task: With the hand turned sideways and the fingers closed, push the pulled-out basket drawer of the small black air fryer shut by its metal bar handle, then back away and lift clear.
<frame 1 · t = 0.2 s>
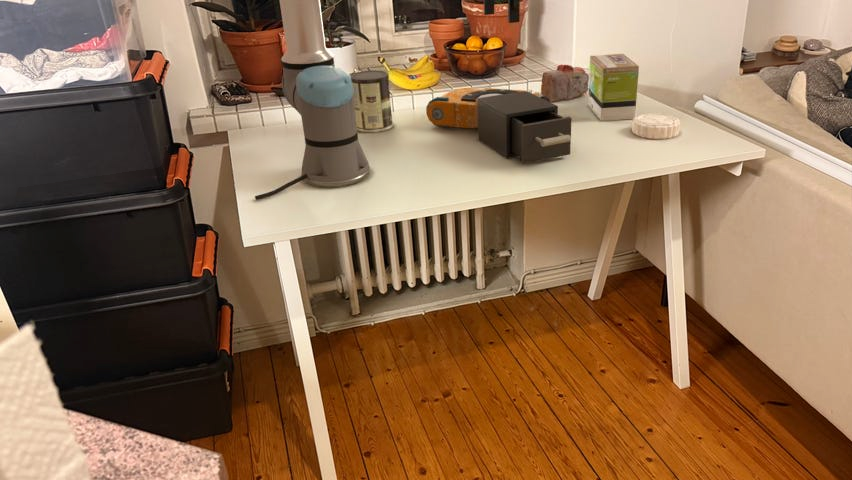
hand: (501, 18, 174), 28 cm above the table, tool pointing down, fingers open, 13 cm apart
coffee can: (374, 127, 191), on the table
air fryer: (516, 144, 176), on the table
mooncake: (655, 132, 182), on the table
tea box: (610, 113, 198), on the table
device: (490, 121, 193), on the table
food item: (564, 98, 212), on the table
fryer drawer: (536, 134, 165), point 5 cm above the table, slide at 6.0 cm
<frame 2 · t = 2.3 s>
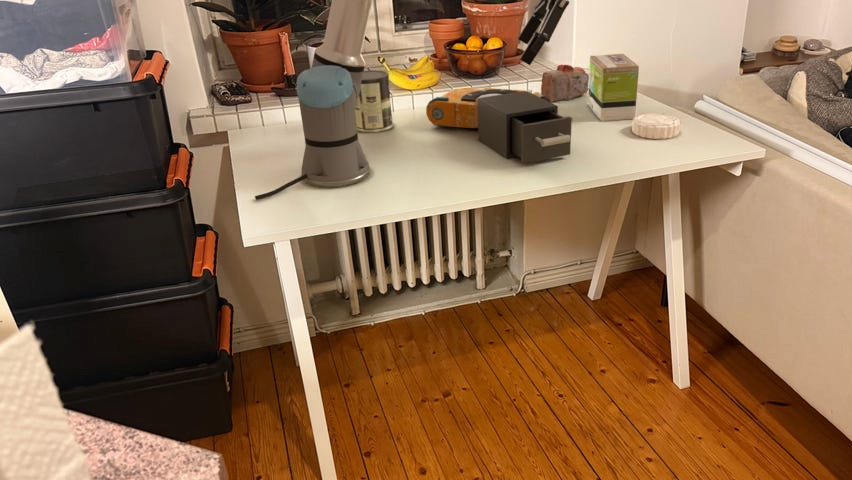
hand: (523, 51, 168), 22 cm above the table, tool tilted 35°, fingers open, 13 cm apart
nothing on the table moved.
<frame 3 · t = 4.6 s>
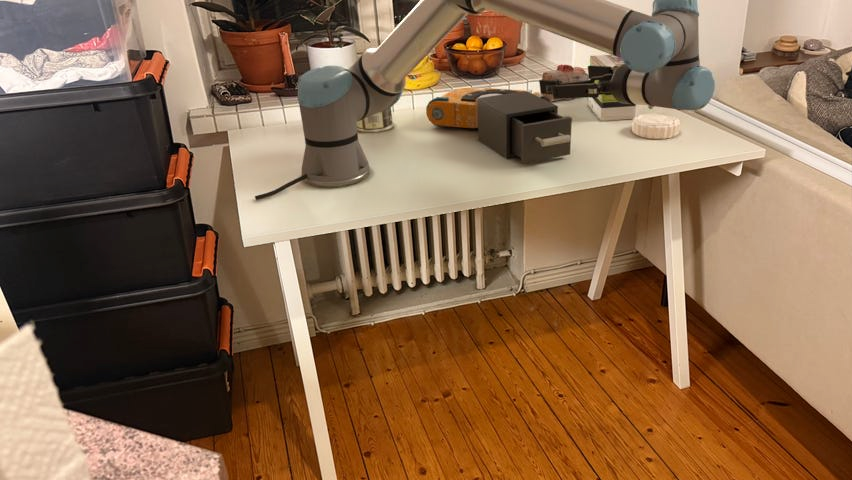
hand: (565, 79, 150), 20 cm above the table, tool horizontal, fingers open, 13 cm apart
nothing on the table moved.
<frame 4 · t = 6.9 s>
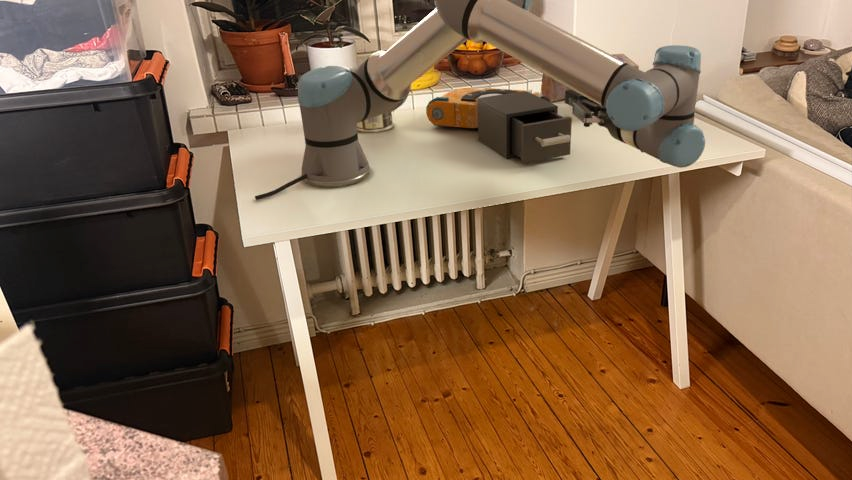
hand: (568, 96, 149), 18 cm above the table, tool horizontal, fingers closed
nothing on the table moved.
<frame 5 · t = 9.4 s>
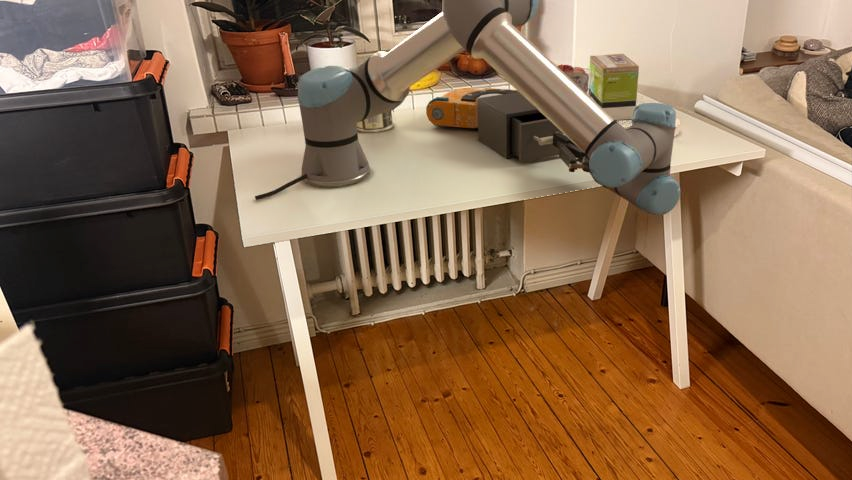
hand: (555, 138, 157), 7 cm above the table, tool horizontal, fingers closed
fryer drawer: (534, 133, 166), point 5 cm above the table, slide at 5.0 cm, touching gripper
everything else where it was.
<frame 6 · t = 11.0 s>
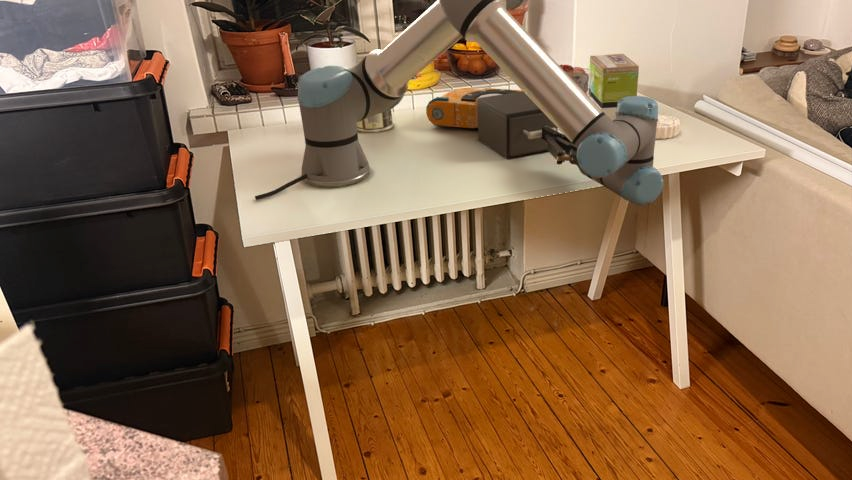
hand: (544, 132, 161), 7 cm above the table, tool horizontal, fingers closed
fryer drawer: (524, 127, 170), point 5 cm above the table, slide at 0.0 cm, touching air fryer, gripper
everything else where it was.
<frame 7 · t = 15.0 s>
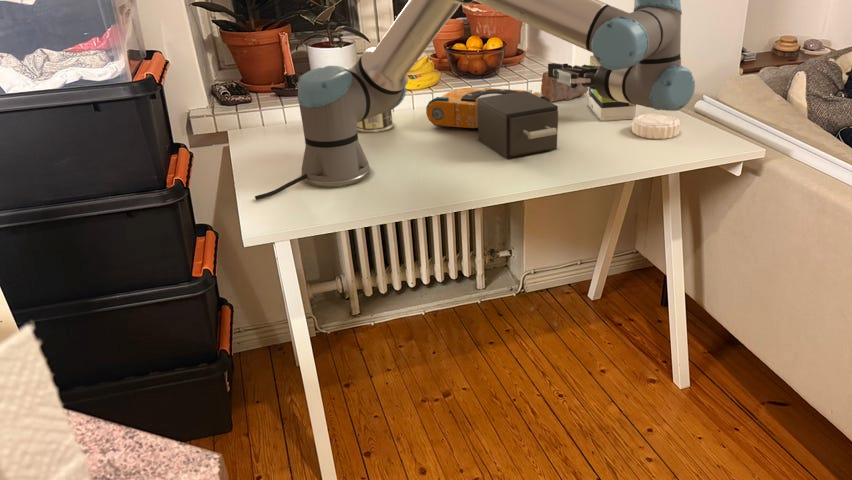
hand: (551, 69, 150), 22 cm above the table, tool horizontal, fingers closed
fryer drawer: (524, 127, 170), point 5 cm above the table, slide at 0.0 cm, touching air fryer
everything else where it was.
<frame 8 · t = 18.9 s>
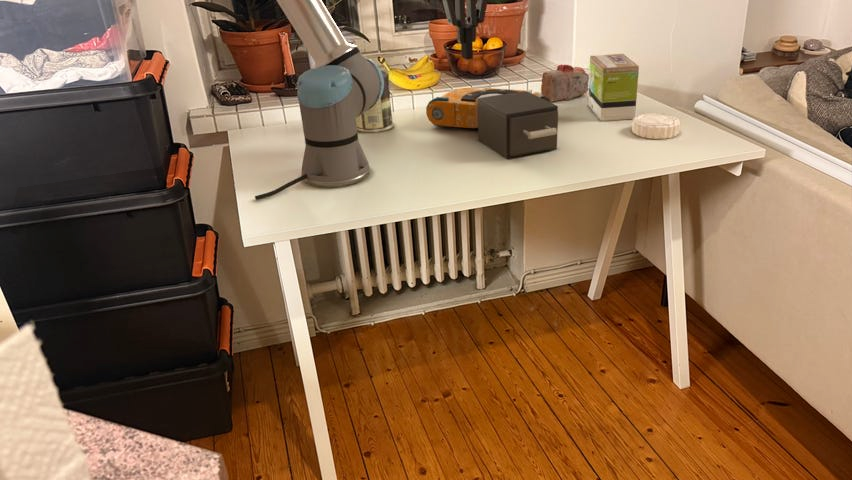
hand: (467, 57, 152), 24 cm above the table, tool pointing down, fingers closed
nothing on the table moved.
at the end: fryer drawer slide at 0.0 cm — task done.
